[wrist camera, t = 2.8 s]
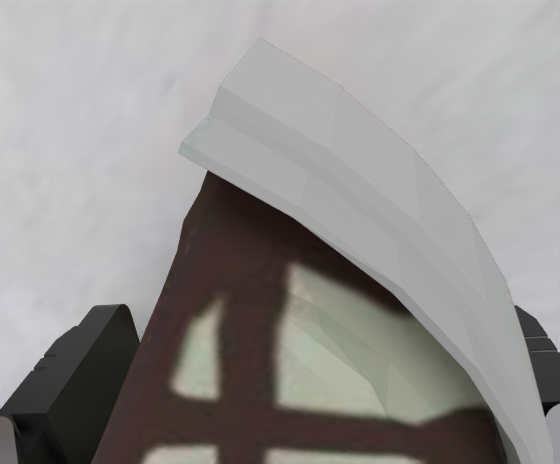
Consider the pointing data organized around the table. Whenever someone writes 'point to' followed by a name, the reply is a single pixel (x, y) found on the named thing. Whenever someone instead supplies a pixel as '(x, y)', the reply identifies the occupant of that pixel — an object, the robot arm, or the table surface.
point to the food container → (324, 300)
